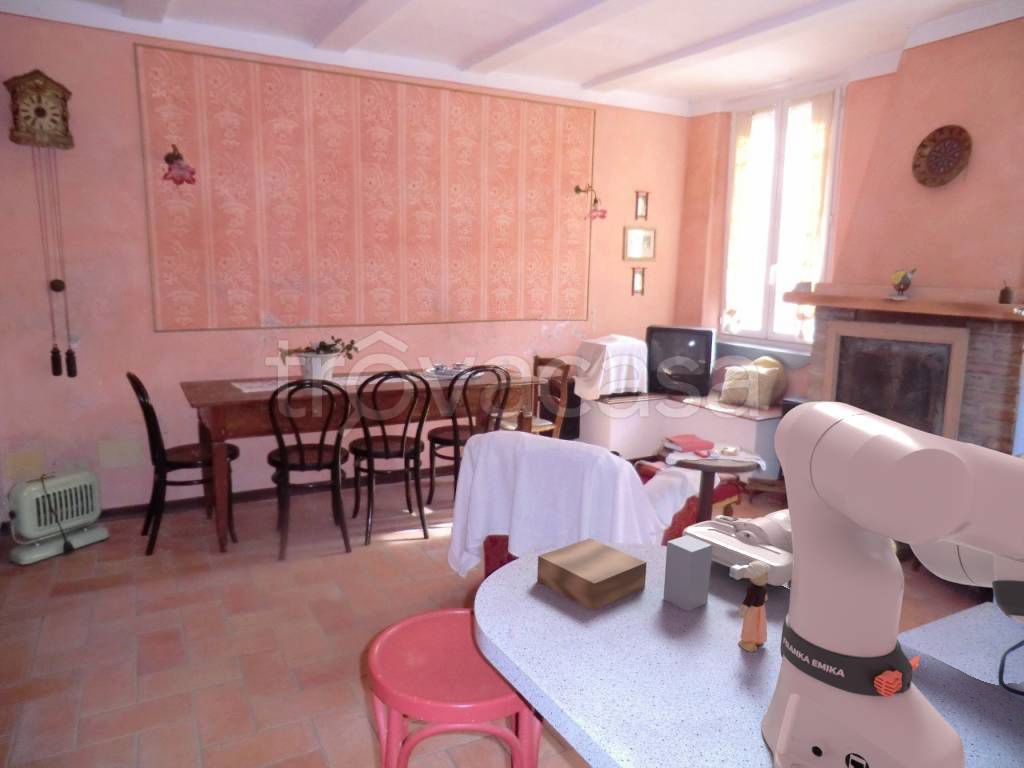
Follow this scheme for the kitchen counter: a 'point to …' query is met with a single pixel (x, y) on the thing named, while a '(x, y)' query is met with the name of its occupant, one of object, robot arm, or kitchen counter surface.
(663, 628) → the kitchen counter surface
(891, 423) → the robot arm
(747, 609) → the grandmother figurine
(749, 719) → the kitchen counter surface
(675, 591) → the slate pillar block
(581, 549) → the walnut block
